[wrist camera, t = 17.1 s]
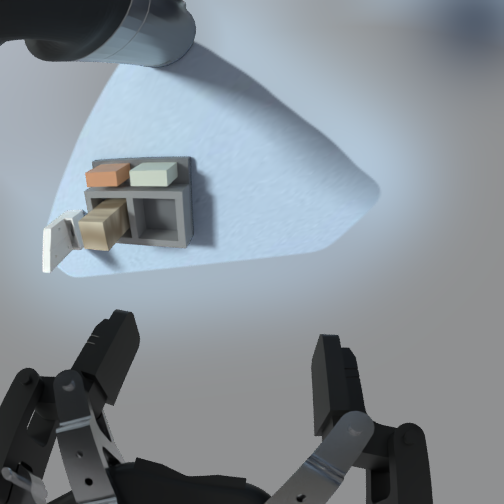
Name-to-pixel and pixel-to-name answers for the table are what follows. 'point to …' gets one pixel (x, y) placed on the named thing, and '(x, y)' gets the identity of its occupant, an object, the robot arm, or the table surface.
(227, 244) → the table surface
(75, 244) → the white angled block
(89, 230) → the tan rectangular block
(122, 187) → the socket block
